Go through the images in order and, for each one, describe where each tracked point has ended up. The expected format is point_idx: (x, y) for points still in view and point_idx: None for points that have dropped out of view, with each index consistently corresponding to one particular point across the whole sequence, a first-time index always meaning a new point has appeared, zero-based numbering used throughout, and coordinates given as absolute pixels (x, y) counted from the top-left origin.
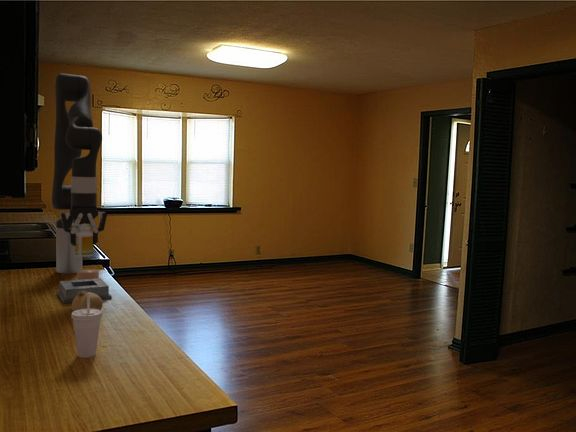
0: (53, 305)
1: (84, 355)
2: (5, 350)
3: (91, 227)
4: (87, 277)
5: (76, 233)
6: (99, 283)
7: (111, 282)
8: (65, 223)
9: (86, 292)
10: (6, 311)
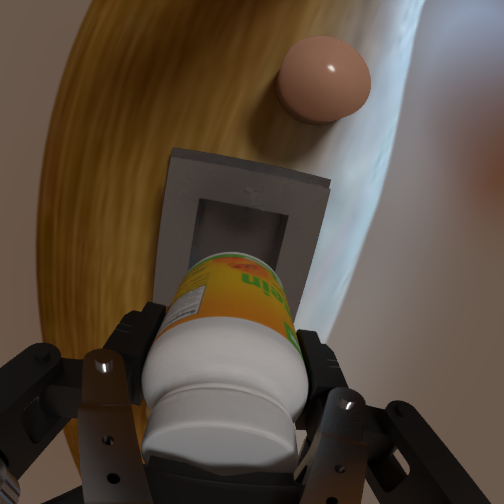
0: (129, 291)
1: None
2: (67, 439)
3: (315, 434)
4: (306, 114)
5: (147, 404)
6: (285, 276)
7: (395, 102)
8: (23, 450)
9: None
10: (39, 279)
